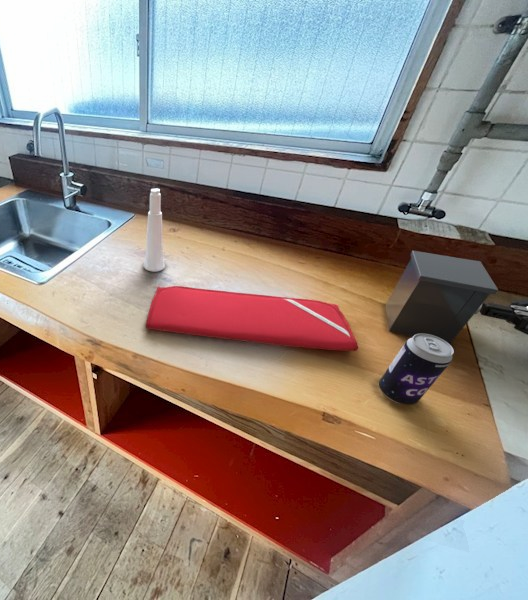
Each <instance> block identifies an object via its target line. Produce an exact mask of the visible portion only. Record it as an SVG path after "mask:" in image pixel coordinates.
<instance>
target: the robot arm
mask: <svg viewBox="0 0 528 600" xmlns="http://www.w3.org/2000/svg"><path fill="white" fill-rule="evenodd" d="M479 313H480V315H481V316H484V317H487V318H493V319H498V320H504V321H505V322H506V323H508V324H511V325H514V326H513V329H514V330H516V331H518V332H521V333H522V334H525V335H527V336H528V298H524V299H516V300H512V301H511V303H509V305H505V304H498V303H494V302H490V301H489V302H488V301H486V302H485V301H484V302H483V303H482V308H481V310H480V311H479Z"/></svg>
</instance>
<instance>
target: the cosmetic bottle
mask: <svg viewBox="0 0 528 600" xmlns="http://www.w3.org/2000/svg"><path fill="white" fill-rule="evenodd" d="M160 191H161V189H160V188H151V189H150V194H149V210H148V212H147V222H146V223H147V225H146V243H145V244H146V245H145V257H144V263H143V268H144V269H145V270H146V271H149V272H160V271H162V270H164V269H165V266H166V264H165V258H164V257H165V256H164V240H163V238H164V237H163V212H162V211H161V201H162V195H161V192H160Z"/></svg>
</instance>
